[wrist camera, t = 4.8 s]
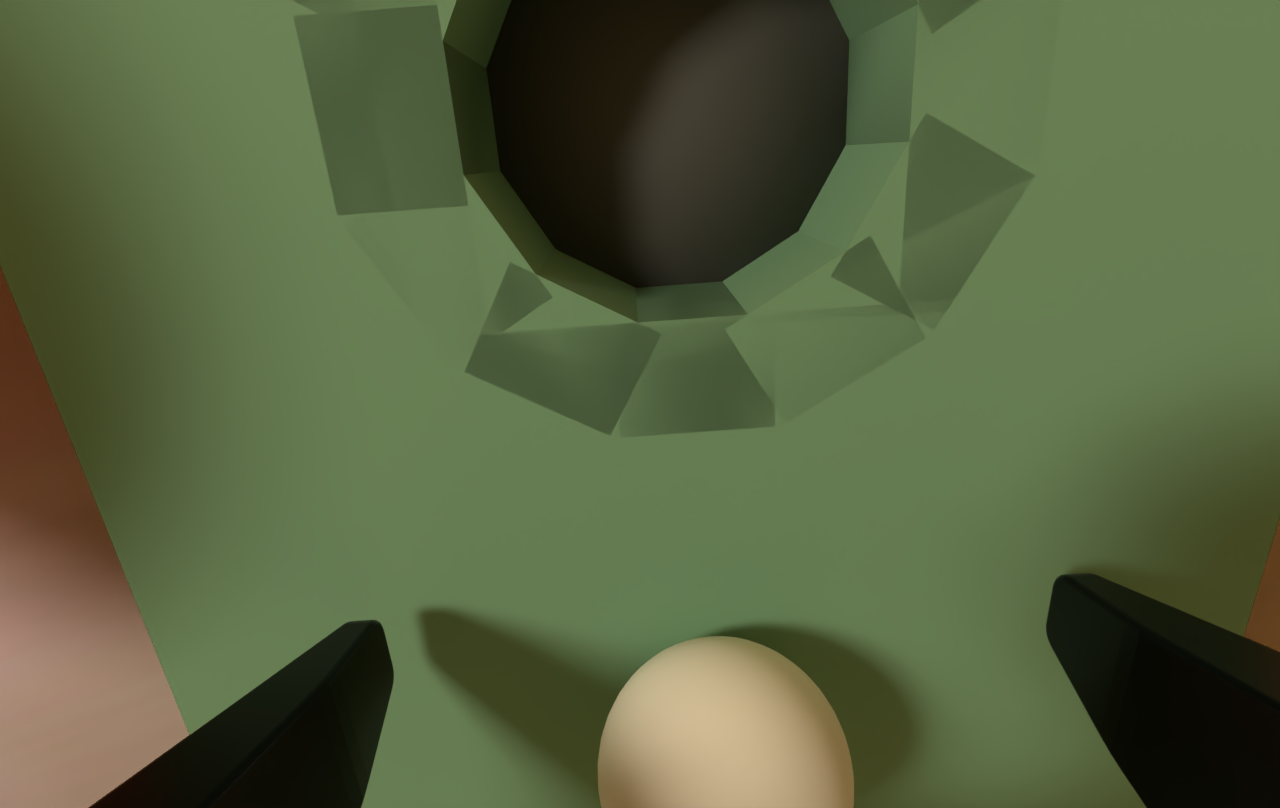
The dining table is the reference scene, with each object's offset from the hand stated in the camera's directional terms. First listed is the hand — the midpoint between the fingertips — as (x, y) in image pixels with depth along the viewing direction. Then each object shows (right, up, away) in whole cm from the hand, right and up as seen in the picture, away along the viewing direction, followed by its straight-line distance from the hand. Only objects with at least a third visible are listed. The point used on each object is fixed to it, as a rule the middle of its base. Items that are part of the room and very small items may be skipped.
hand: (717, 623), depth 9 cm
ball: (0, -2, 0) cm, 2 cm away
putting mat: (0, +2, +3) cm, 3 cm away
